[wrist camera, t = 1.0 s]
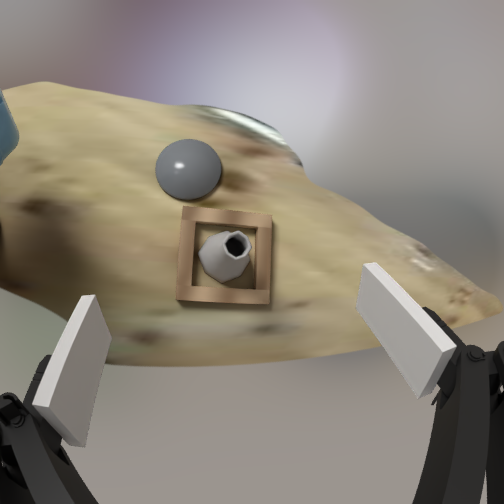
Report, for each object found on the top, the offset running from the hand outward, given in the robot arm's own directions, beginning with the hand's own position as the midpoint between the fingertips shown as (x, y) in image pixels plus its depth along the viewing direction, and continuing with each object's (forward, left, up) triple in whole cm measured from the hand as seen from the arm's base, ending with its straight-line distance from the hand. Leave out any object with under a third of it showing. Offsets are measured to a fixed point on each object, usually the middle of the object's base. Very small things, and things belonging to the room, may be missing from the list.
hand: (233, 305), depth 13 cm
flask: (0, +7, -28) cm, 29 cm away
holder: (0, +7, -28) cm, 29 cm away
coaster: (-12, +15, -28) cm, 34 cm away
